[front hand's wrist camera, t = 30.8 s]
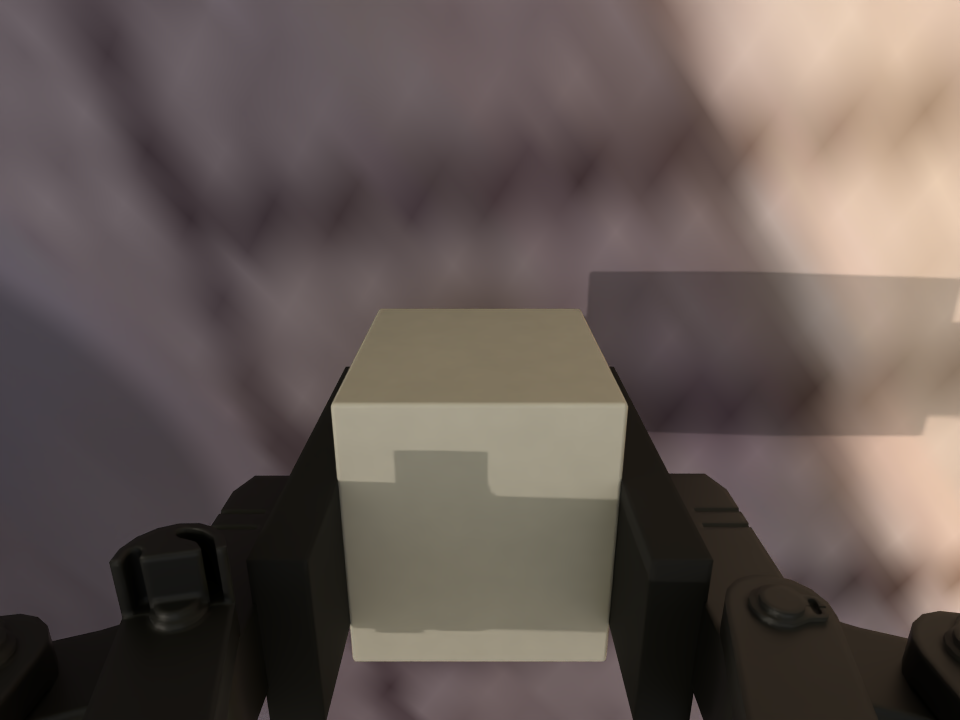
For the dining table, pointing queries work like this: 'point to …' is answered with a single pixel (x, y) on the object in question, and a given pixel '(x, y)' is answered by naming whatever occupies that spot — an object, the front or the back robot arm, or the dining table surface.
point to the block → (479, 486)
